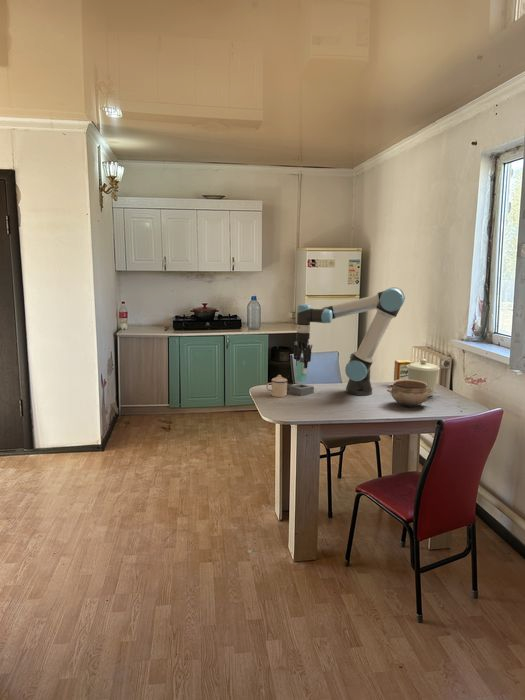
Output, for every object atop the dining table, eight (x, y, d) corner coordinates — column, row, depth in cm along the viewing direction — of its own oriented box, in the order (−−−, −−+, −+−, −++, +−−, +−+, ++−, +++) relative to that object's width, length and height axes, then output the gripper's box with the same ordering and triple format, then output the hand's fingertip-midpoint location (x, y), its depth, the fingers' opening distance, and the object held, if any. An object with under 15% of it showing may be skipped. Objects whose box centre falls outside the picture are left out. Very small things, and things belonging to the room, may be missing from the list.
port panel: (313, 393, 296) (313, 386, 296) (301, 396, 290) (301, 389, 290) (301, 389, 304) (301, 383, 303) (288, 392, 298) (289, 385, 297)
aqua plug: (306, 380, 296) (307, 357, 293) (301, 381, 293) (301, 358, 291) (301, 379, 299) (302, 356, 296) (296, 380, 296) (297, 357, 294)
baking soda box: (396, 387, 314) (398, 361, 311) (393, 385, 320) (394, 359, 318) (412, 387, 315) (413, 361, 312) (408, 385, 321) (410, 359, 318)
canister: (443, 395, 297) (446, 359, 293) (426, 400, 285) (429, 363, 281) (416, 389, 310) (418, 354, 306) (398, 394, 298) (400, 358, 295)
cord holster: (298, 390, 304) (298, 385, 303) (289, 391, 299) (289, 387, 299) (290, 387, 309) (290, 383, 309) (281, 389, 305) (281, 385, 304)
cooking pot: (393, 411, 264) (394, 387, 262) (379, 401, 282) (381, 379, 280) (439, 409, 267) (441, 386, 265) (422, 400, 286) (424, 378, 284)
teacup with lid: (285, 393, 296) (285, 373, 294) (288, 397, 287) (289, 376, 285) (264, 393, 294) (265, 373, 292) (267, 397, 285) (267, 377, 283)
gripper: (287, 330, 295) (286, 370, 299) (309, 334, 282) (307, 376, 286) (297, 329, 300) (295, 369, 304) (318, 333, 287) (316, 374, 291)
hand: (301, 372), depth 295 cm, fingers closed on aqua plug, 4 cm apart
